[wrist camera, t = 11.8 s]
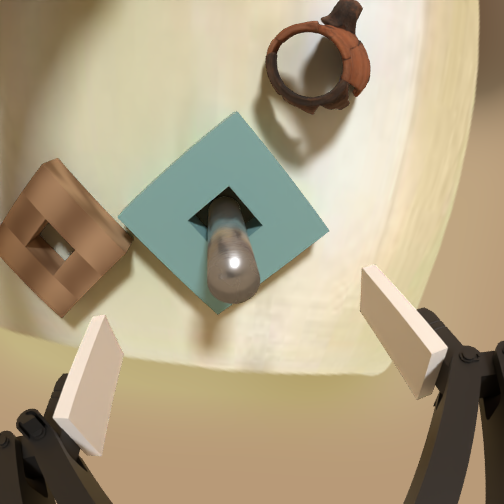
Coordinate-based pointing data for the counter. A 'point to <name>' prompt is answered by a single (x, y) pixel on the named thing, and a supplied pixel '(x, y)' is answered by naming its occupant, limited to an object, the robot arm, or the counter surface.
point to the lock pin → (230, 254)
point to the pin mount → (70, 228)
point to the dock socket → (206, 189)
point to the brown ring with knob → (350, 48)
